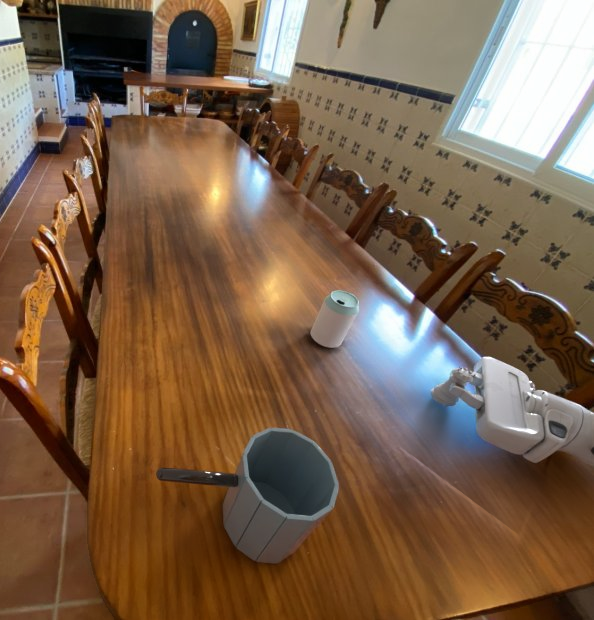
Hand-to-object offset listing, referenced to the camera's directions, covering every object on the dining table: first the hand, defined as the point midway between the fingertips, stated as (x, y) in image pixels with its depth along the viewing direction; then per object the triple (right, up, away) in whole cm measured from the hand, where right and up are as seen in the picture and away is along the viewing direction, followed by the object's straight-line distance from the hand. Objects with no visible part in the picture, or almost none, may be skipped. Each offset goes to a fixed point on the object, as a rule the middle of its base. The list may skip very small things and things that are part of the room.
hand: (451, 380), depth 68 cm
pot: (-46, -17, -16) cm, 51 cm away
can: (-18, +7, +15) cm, 24 cm away
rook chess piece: (0, -4, +3) cm, 5 cm away
